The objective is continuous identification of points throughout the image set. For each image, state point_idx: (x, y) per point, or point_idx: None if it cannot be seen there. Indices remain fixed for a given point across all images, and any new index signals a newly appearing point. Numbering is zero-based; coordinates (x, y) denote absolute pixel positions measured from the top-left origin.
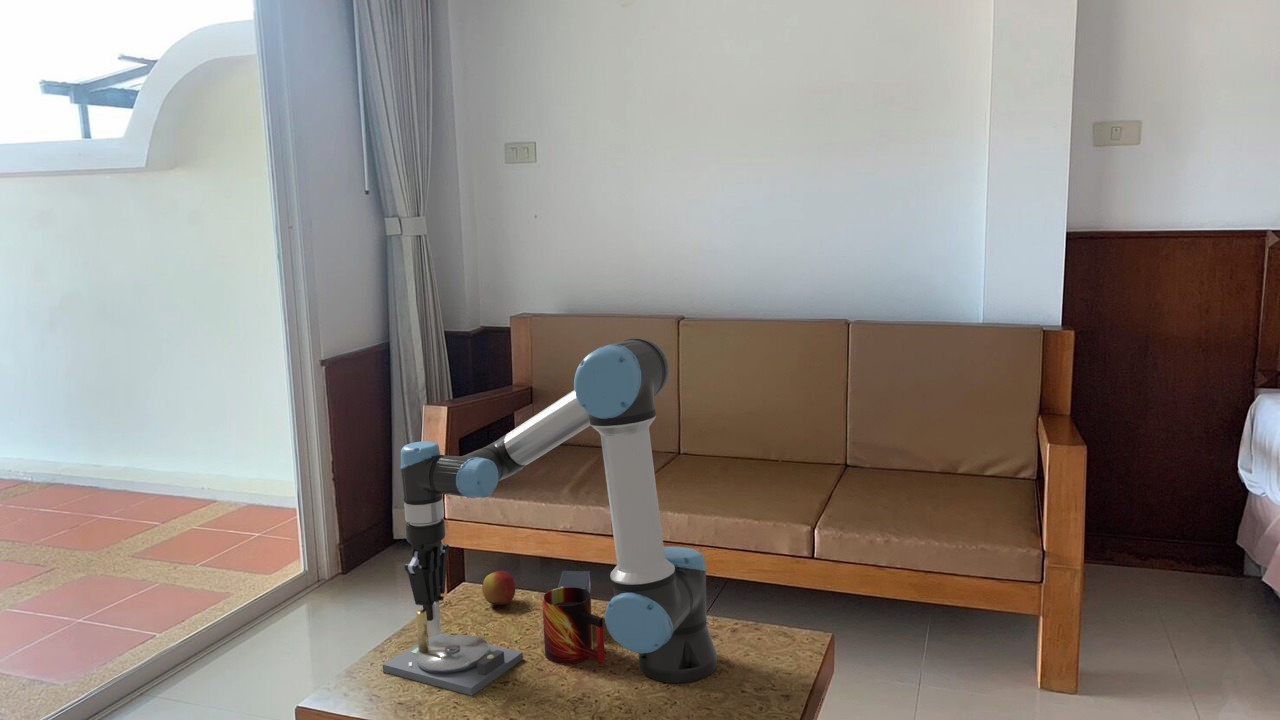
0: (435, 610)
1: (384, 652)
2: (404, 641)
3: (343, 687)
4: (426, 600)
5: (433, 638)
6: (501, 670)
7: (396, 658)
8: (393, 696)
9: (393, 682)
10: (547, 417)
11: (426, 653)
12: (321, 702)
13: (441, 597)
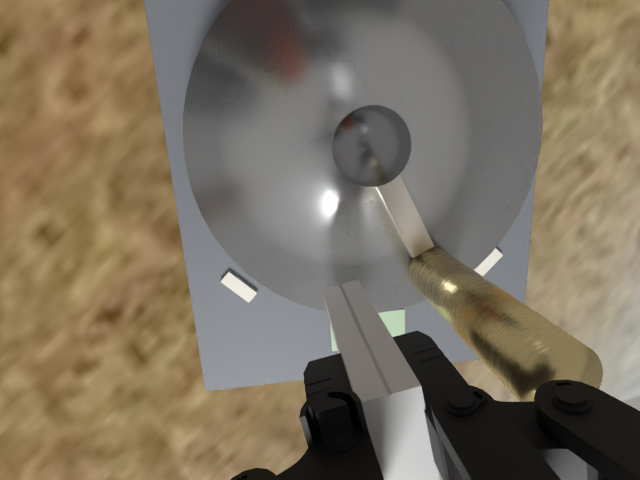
0: (400, 353)
1: None
2: (293, 454)
3: (631, 361)
4: (611, 419)
5: (258, 361)
6: None
7: (464, 348)
8: (634, 170)
9: (552, 250)
10: None
11: (451, 234)
12: None
13: (331, 419)
